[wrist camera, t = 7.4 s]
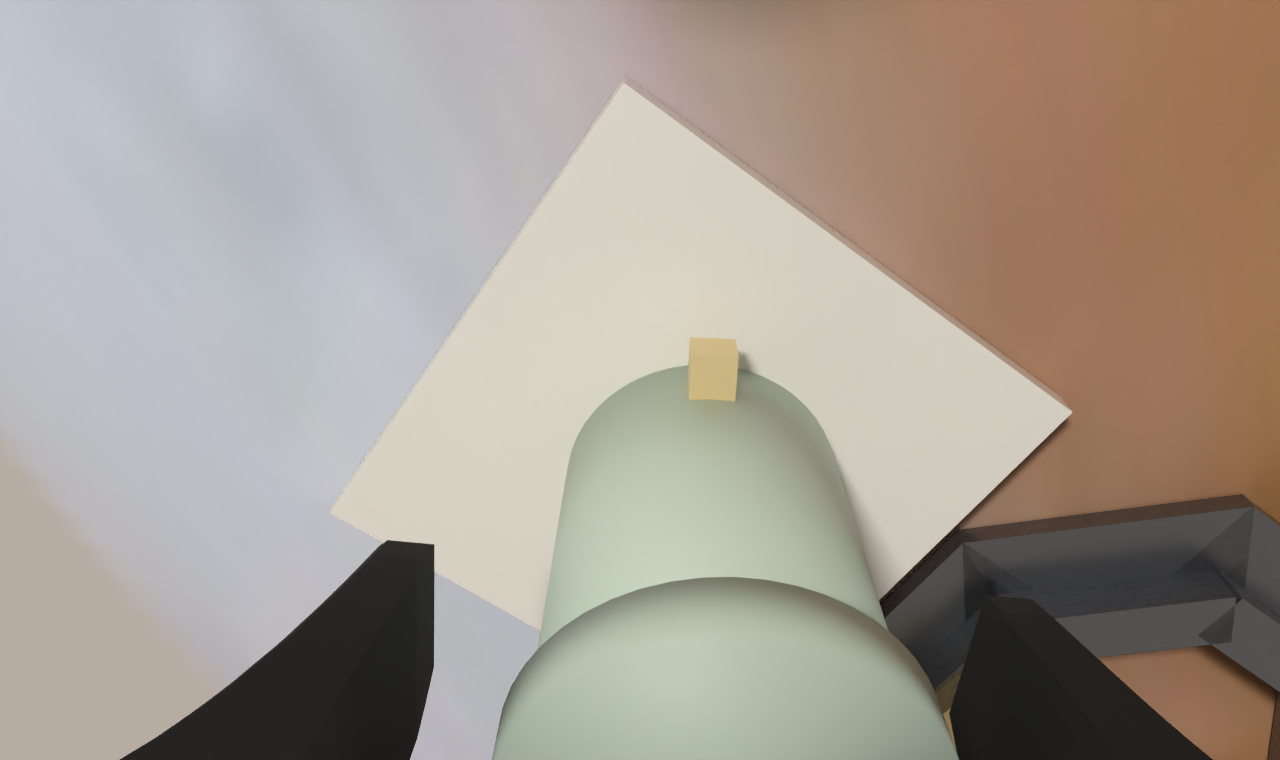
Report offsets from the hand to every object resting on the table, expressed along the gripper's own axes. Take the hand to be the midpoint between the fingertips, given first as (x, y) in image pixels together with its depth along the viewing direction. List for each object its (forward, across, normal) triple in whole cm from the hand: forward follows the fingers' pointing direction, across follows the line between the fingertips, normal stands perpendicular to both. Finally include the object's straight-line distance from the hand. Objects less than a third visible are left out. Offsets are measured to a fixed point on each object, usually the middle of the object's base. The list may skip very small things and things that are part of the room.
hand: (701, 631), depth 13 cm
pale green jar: (+4, 0, 0) cm, 4 cm away
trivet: (+5, 0, 0) cm, 5 cm away
